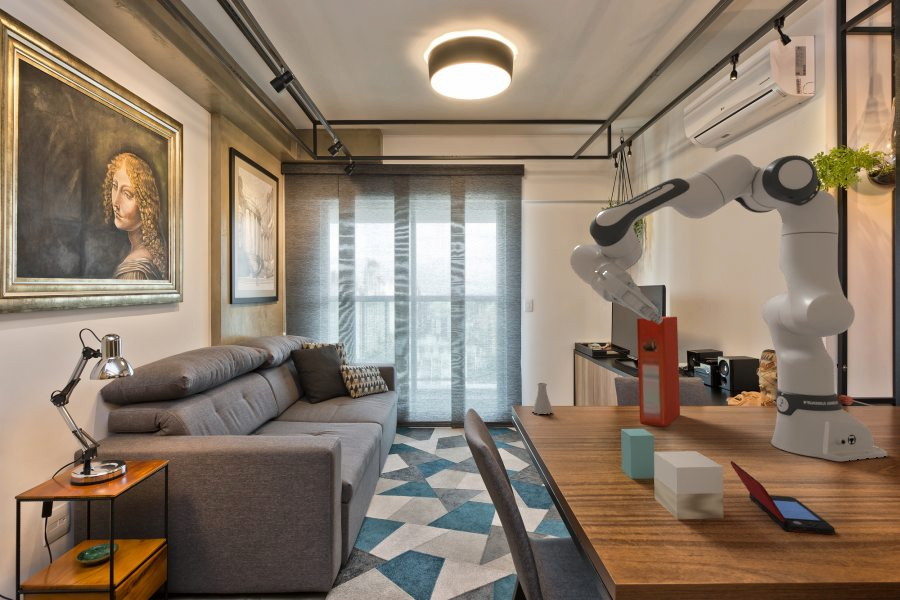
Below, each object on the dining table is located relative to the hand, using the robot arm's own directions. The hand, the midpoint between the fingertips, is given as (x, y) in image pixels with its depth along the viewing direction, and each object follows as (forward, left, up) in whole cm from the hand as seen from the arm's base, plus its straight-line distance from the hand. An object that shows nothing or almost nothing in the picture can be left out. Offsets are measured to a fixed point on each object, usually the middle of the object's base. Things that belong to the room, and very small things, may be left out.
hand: (651, 315), depth 104 cm
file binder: (-19, -36, -34) cm, 53 cm away
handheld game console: (-9, +28, -34) cm, 45 cm away
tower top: (+5, +24, -30) cm, 39 cm away
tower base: (+5, +24, -34) cm, 42 cm away
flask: (+16, -46, -34) cm, 59 cm away
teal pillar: (+7, +8, -34) cm, 36 cm away
